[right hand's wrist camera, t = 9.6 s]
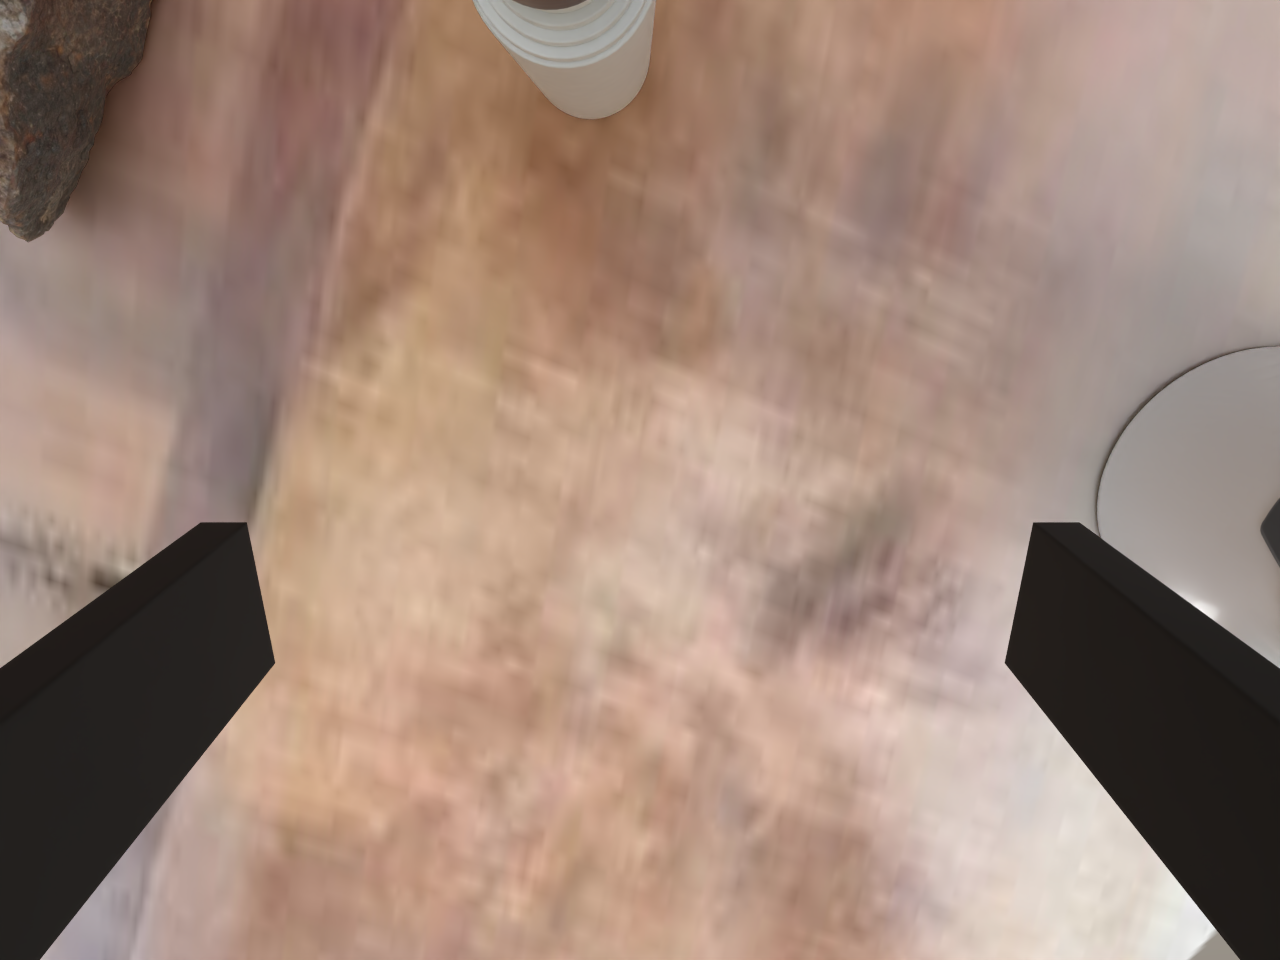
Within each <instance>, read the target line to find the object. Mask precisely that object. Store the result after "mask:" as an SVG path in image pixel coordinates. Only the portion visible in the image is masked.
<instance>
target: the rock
mask: <svg viewBox="0 0 1280 960" xmlns="http://www.w3.org/2000/svg"><path fill="white" fill-rule="evenodd" d="M152 1H153V0H0V220H1V222H2V223H3V224H7V225H8V226H9V230H10V231H11V232H12V233H13V234H14V235H15V236H17V237H18V238H20V239H24V240H25V241H27V242H30V241H32V240H34V239H36V238H38V237H39V236H41V235H43V234H44V232H45V231H49V229H50V228H51V227H52V225H53V224H54V221H55V220H56V219H58V218H59V217H60V216H61V215H62V214H63V212H64V210H65V207H66V204H67V202H68V200H69V198H70V194H71V193H72V191H73V190H74V189H75V187H76V186H77V183H78V181H79V178H80V175H81V172H82V170H83V169H84V167H85V166H86V164H87V162H88V160H89V151H90V149H91V148H92V146H93V145H94V137H95V134H96V133H97V132H98V130H99V127H100V124H101V122H102V118H103V112H104V102H105V98H106V95H107V94H108V92H109V91H110V90H111V88H112V87H113V86H114V85H115V84H116V83H117V82H118V81H120V80H122V79H123V78H125V77H127V76H129V75H131V73H132V70H133V69H134V68H135V67H136V66H137V65H138V64H139V62H140V61H141V60H142V56H143V49H144V43H145V38H146V33H147V28H148V24H149V20H150V16H151V11H150V3H151V2H152Z"/></svg>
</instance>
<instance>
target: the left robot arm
mask: <svg viewBox="0 0 1280 960" xmlns="http://www.w3.org/2000/svg"><path fill="white" fill-rule="evenodd" d="M1097 520H1098V527H1099V532H1100V536H1101V539H1103V540H1104V541H1105V542H1107V543H1108V544H1109V545H1111V546H1112V547H1114V548H1115V549H1116V550H1118V551H1119V552H1120V553H1122V554H1123V555H1125V556H1126V557H1127V558H1129V559H1130V560H1131V561H1133V562H1134V563H1136V564H1137V565H1138V566H1140V567H1141V568H1142V569H1144V570H1145V571H1147V572H1148V573H1149V574H1151V575H1152V576H1153V577H1155V578H1156V579H1158V580H1159V581H1160V582H1162V583H1163V584H1164V585H1166V586H1167V587H1169V588H1170V589H1171V590H1173V591H1174V592H1175V593H1177V594H1178V595H1180V596H1181V597H1182V598H1184V599H1185V600H1186V601H1188V602H1189V603H1191V604H1192V605H1193V606H1195V607H1196V608H1197V609H1199V610H1200V611H1202V612H1203V613H1204V614H1206V615H1207V616H1208V617H1210V618H1211V619H1213V620H1214V621H1215V622H1217V623H1218V624H1219V625H1221V626H1222V627H1224V628H1225V629H1226V630H1228V631H1229V632H1230V633H1232V634H1233V635H1235V636H1236V637H1237V638H1239V639H1240V640H1241V641H1243V642H1244V643H1246V644H1247V645H1248V646H1250V647H1251V648H1252V649H1254V650H1255V651H1257V652H1258V653H1259V654H1261V655H1262V656H1263V657H1265V658H1266V659H1268V660H1269V661H1270V662H1272V663H1273V664H1274V665H1276V666H1277V667H1279V668H1280V346H1276V347H1261V348H1253V349H1248V350H1243V351H1239V352H1235V353H1231V354H1228V355H1225V356H1222V357H1219V358H1216V359H1214V360H1211V361H1209V362H1207V363H1205V364H1203V365H1200V366H1198V367H1197V368H1195V369H1193V370H1191V371H1189V372H1187V373H1186V374H1184V375H1183V376H1181V377H1179V378H1178V379H1176V380H1175V381H1174V382H1172V383H1171V384H1169V385H1168V386H1167V387H1165V388H1164V389H1163V390H1162V391H1160V392H1159V393H1158V394H1157V395H1156V396H1155V397H1153V398H1152V399H1151V400H1150V401H1149V402H1148V403H1147V404H1146V405H1145V406H1144V407H1143V408H1142V409H1141V410H1140V411H1139V413H1138V414H1137V415H1136V416H1135V417H1134V418H1133V420H1132V421H1131V422H1130V423H1129V425H1128V426H1127V427H1126V429H1125V430H1124V432H1123V433H1122V435H1121V436H1120V438H1119V440H1118V441H1117V443H1116V445H1115V446H1114V448H1113V450H1112V452H1111V454H1110V456H1109V459H1108V461H1107V463H1106V466H1105V469H1104V472H1103V475H1102V478H1101V482H1100V487H1099V492H1098V500H1097Z"/></svg>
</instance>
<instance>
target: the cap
mask: <svg viewBox="0 0 1280 960" xmlns="http://www.w3.org/2000/svg"><path fill="white" fill-rule="evenodd" d="M513 1H515V2H517V3H519V4H521V5H524V6H528V7H531V8H535V9H542V10H558V9H564V8H569V7H572V6H575V5H578V4H580V3H582V2H584V1H586V0H513Z"/></svg>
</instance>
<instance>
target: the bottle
mask: <svg viewBox="0 0 1280 960" xmlns="http://www.w3.org/2000/svg"><path fill="white" fill-rule="evenodd" d="M473 3H474V5H475V7H476V9H477V11H478V13H479V15H480V16H481V18H482V20H483V21H484V23H485V24H486V25H487V27H488V28H489V29H490V31H491V32H492V33H493V35H494V36H495V37H496V38H497V39H498V41H499V42H500V43H501V44H502V45H503V47H504V48H505V49H506V50H507V51H508V53H509V54H510V55H511V56H512V57H513V58H514V60H515V61H516V62H517V63H518V64H519V66H520V67H521V68H522V69H523V70H524V72H525V73H526V74H527V75H528V76H529V78H530V79H531V80H532V81H533V82H534V84H535V85H536V86H537V87H538V88H539V90H540V91H541V92H542V93H543V94H544V96H545V97H546V98H547V99H548V100H549V101H550V102H551V103H552V104H553V105H554V106H556V107H557V108H558V109H560V110H561V111H563V112H565V113H567V114H569V115H571V116H574V117H578V118H582V119H599V118H604V117H608V116H611V115H613V114H615V113H617V112H619V111H620V110H622V109H623V108H625V107H626V106H627V105H628V104H629V103H630V102H631V101H632V100H633V99H634V98H635V97H636V95H637V94H638V92H639V91H640V89H641V87H642V85H643V83H644V81H645V78H646V76H647V73H648V68H649V63H650V54H651V44H652V35H653V25H654V16H655V6H656V0H586V1H584V2H582V3H580V4H578V5H575V6H572V7H569V8H564V9H558V10H542V9H535V8H531V7H528V6H524V5H521V4H519V3H517V2H515V1H513V0H473Z"/></svg>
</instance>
